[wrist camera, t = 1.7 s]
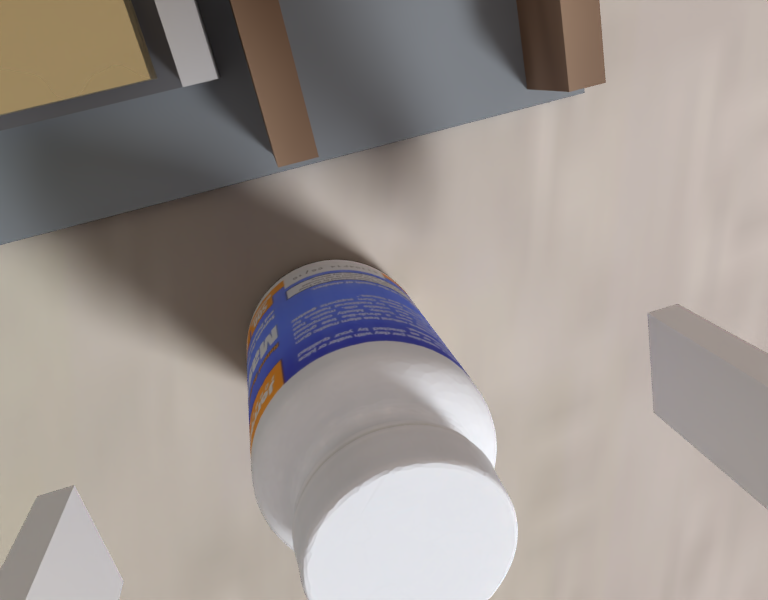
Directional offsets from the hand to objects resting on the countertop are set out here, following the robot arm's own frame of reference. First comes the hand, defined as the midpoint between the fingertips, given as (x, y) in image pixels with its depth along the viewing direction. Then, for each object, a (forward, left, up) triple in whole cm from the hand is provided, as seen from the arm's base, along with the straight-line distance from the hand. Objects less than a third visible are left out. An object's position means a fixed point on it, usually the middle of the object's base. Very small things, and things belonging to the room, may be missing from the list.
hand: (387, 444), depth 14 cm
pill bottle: (0, 0, -7) cm, 7 cm away
